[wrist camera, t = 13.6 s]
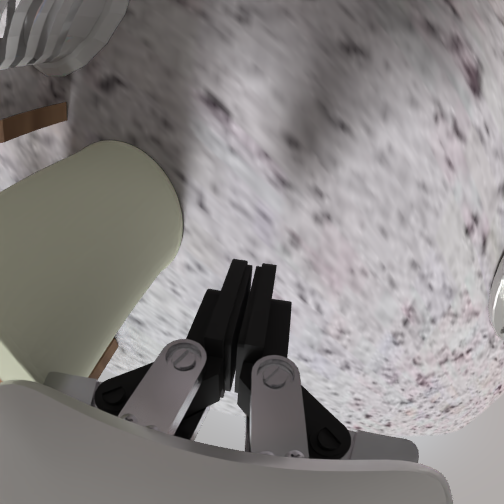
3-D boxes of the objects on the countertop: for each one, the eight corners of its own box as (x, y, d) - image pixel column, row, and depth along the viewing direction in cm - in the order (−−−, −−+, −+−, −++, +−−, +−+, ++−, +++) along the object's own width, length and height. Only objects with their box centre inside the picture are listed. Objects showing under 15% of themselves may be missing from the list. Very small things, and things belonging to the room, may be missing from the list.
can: (107, 107, 13) (-99, 195, 3) (216, 225, 15) (90, 437, 5) (52, 205, 17) (-68, 304, 7) (133, 294, 20) (43, 428, 10)
